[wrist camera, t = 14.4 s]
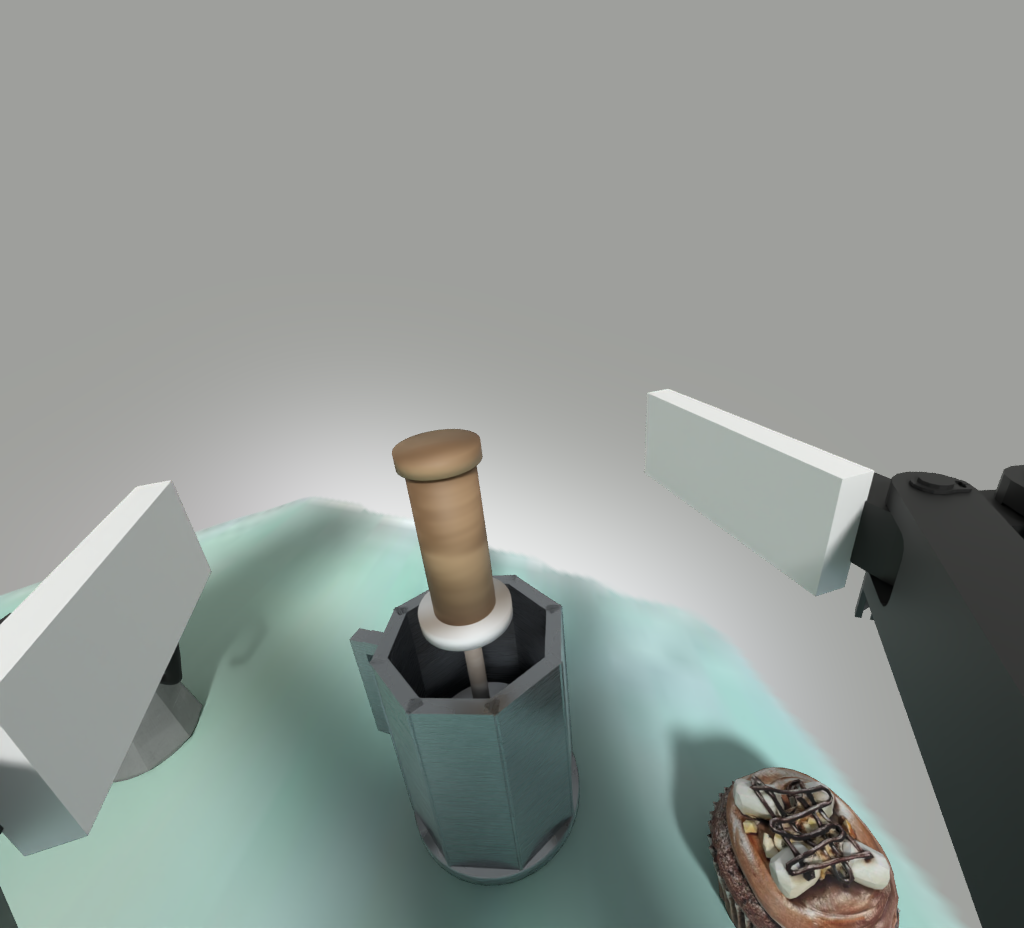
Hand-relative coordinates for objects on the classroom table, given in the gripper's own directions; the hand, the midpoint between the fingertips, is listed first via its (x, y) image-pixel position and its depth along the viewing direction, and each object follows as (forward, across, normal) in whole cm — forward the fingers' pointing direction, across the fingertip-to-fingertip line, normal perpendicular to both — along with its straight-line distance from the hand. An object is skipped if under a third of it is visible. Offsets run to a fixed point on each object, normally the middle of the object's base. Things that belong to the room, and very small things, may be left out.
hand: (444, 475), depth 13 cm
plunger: (+12, +1, -27) cm, 29 cm away
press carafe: (+13, +1, -33) cm, 36 cm away
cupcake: (-1, +17, -33) cm, 37 cm away
